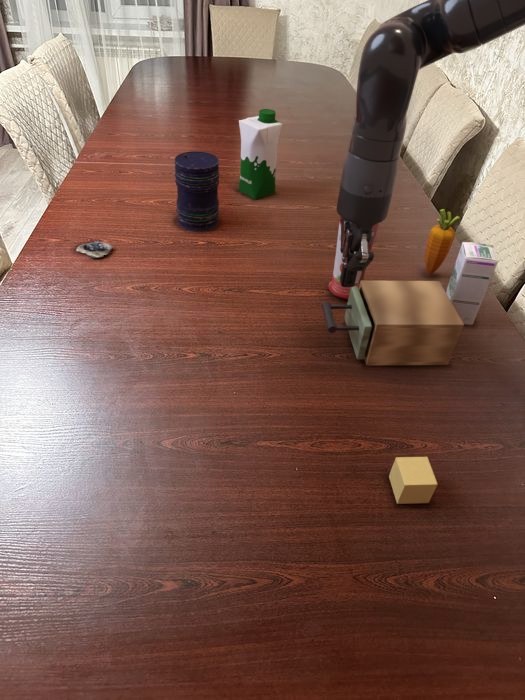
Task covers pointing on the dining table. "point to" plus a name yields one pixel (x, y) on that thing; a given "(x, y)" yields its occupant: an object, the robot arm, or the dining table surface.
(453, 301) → the syrup box
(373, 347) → the cabinet
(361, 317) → the drawer
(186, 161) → the storage jar
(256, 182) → the milk carton
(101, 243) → the oyster shell
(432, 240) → the carrot
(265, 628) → the dining table surface
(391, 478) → the block
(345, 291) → the liquor
